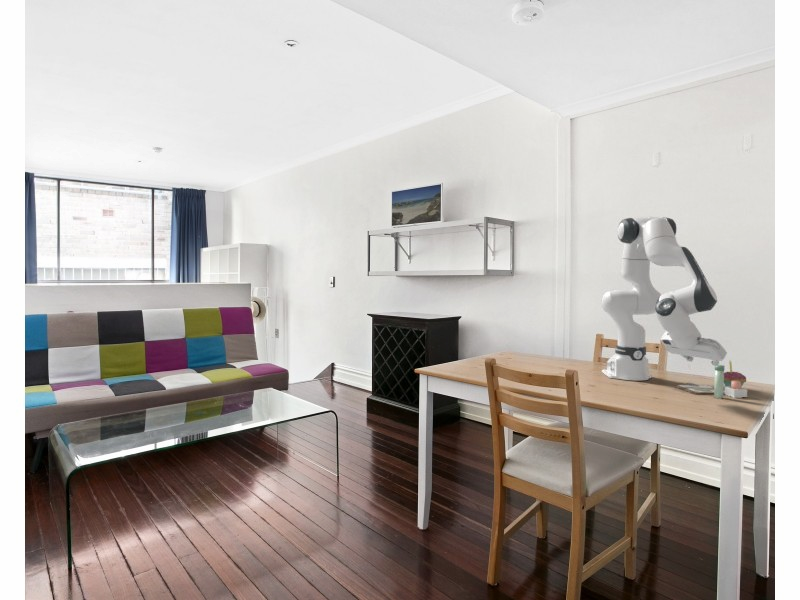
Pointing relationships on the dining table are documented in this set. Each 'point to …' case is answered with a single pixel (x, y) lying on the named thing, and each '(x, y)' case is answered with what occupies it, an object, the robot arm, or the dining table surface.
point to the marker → (719, 381)
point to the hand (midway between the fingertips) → (703, 362)
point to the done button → (735, 384)
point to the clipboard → (697, 388)
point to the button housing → (735, 392)
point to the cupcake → (733, 377)
